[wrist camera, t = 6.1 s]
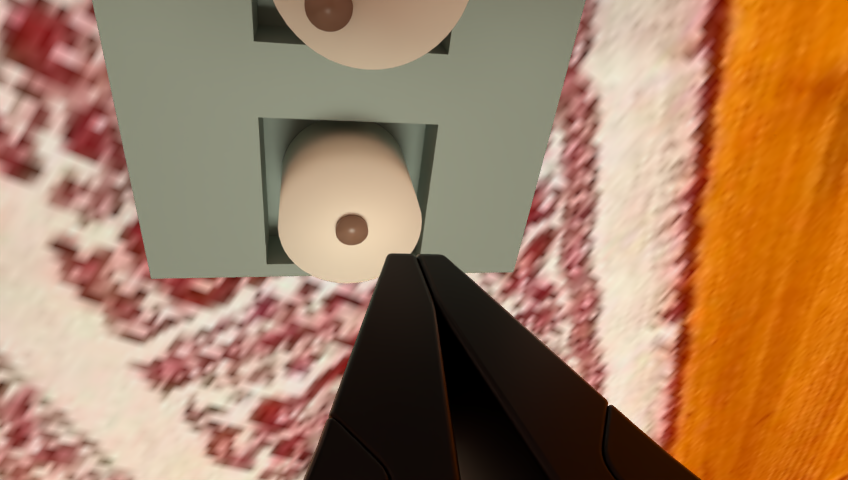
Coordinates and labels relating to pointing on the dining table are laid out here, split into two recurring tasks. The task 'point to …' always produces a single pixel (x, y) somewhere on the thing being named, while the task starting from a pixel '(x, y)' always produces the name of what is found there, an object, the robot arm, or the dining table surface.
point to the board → (326, 100)
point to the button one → (346, 201)
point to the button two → (371, 28)
